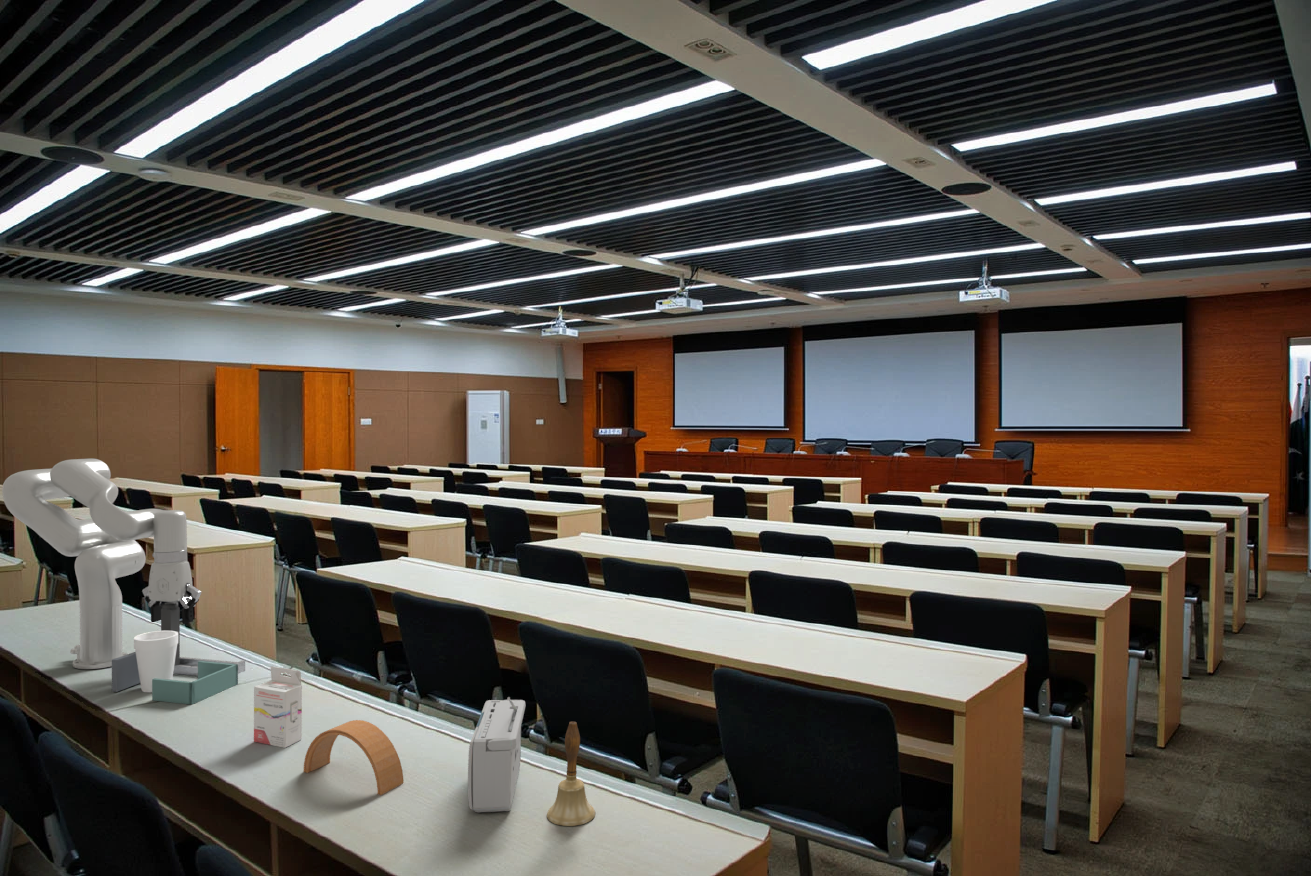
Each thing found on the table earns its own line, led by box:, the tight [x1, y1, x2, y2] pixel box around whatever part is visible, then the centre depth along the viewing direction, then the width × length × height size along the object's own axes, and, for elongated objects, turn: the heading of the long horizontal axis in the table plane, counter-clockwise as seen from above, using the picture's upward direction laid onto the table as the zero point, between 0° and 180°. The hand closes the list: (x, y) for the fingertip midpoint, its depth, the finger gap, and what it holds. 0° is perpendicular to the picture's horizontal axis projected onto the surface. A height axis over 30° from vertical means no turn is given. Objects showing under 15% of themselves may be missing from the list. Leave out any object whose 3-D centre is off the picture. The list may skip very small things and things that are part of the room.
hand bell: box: [546, 721, 596, 827], centre depth 142 cm, size 8×8×16 cm
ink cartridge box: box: [253, 666, 303, 749], centre depth 171 cm, size 9×5×15 cm, turn 71°
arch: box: [302, 719, 404, 796], centre depth 155 cm, size 6×20×10 cm, turn 62°
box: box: [151, 661, 239, 705], centre depth 200 cm, size 11×15×5 cm
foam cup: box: [133, 630, 178, 693], centre depth 203 cm, size 10×9×13 cm
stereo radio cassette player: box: [467, 696, 526, 814], centre depth 151 cm, size 21×8×20 cm, turn 4°
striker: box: [111, 601, 181, 692], centre depth 210 cm, size 5×21×17 cm, turn 167°
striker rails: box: [173, 656, 246, 677], centre depth 217 cm, size 28×7×2 cm, turn 77°
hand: (172, 621), depth 218 cm, fingers open, 9 cm apart
